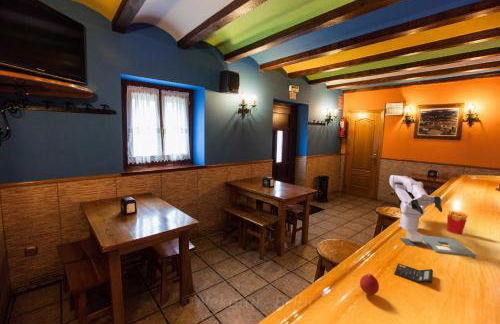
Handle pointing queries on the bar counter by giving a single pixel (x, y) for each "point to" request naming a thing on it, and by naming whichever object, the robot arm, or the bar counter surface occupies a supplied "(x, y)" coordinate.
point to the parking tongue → (407, 242)
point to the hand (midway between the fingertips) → (431, 211)
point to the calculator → (414, 274)
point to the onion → (369, 284)
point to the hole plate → (453, 249)
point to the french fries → (456, 222)
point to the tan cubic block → (414, 236)
